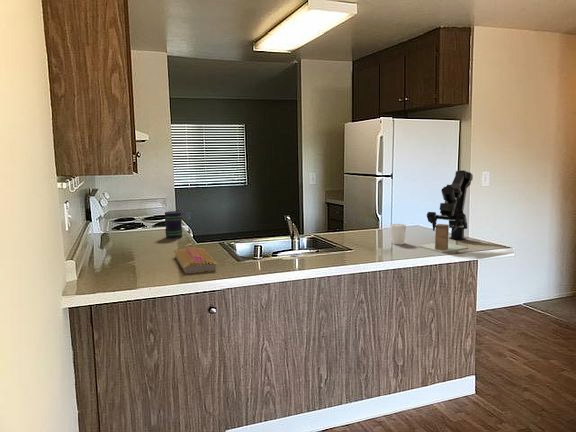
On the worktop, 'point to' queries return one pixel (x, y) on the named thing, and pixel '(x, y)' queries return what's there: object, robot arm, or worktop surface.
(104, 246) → the worktop surface
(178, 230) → the storage jar
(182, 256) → the pink-topped tan slab
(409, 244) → the worktop surface
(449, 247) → the sage placemat
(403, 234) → the white cup
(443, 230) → the walnut block
